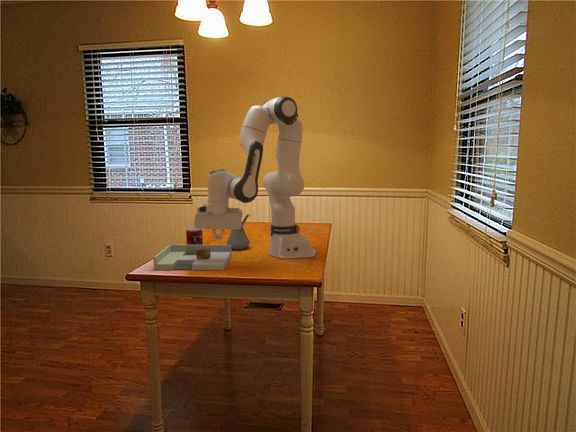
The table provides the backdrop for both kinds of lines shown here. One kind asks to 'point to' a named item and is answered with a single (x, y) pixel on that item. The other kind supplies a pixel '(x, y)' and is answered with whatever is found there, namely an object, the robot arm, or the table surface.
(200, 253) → the walnut block
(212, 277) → the table surface
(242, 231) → the coffee pot
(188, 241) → the canned food
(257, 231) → the table surface
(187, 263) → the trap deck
